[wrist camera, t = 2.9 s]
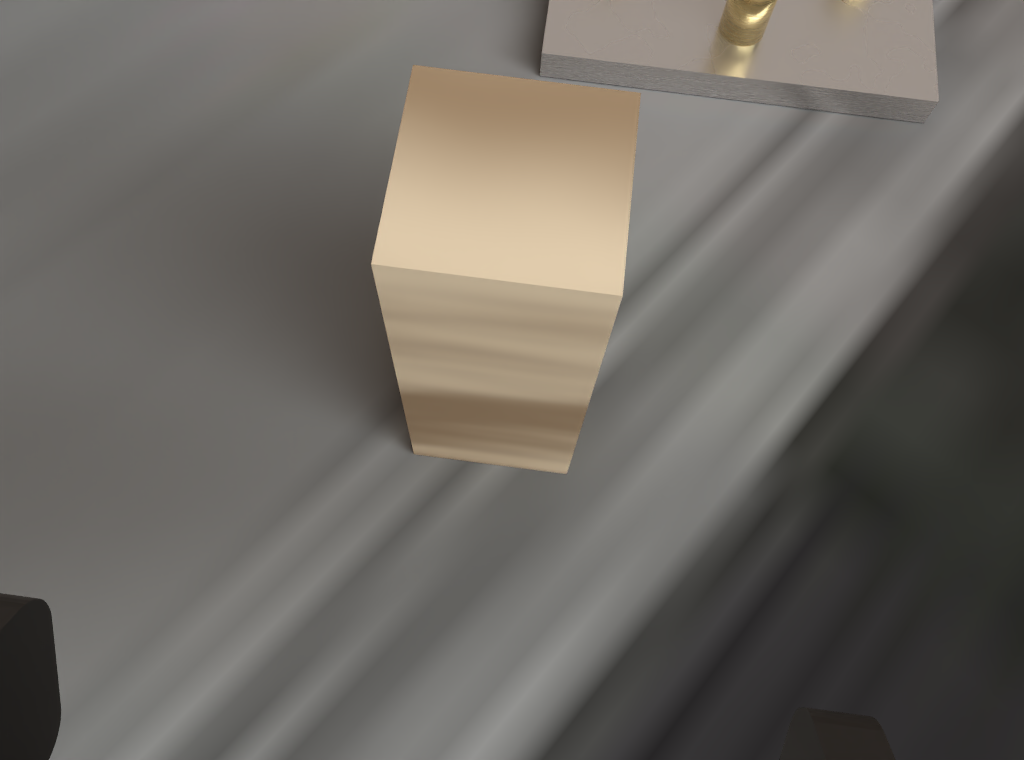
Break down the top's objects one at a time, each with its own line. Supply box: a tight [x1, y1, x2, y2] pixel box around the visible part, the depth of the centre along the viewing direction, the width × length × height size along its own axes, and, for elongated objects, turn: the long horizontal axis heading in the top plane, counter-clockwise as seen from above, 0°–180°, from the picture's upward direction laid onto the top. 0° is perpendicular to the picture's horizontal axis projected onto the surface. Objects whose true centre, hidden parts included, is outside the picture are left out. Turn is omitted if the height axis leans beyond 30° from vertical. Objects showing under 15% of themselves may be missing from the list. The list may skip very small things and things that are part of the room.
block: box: [371, 65, 641, 474], centre depth 20 cm, size 4×4×10 cm
